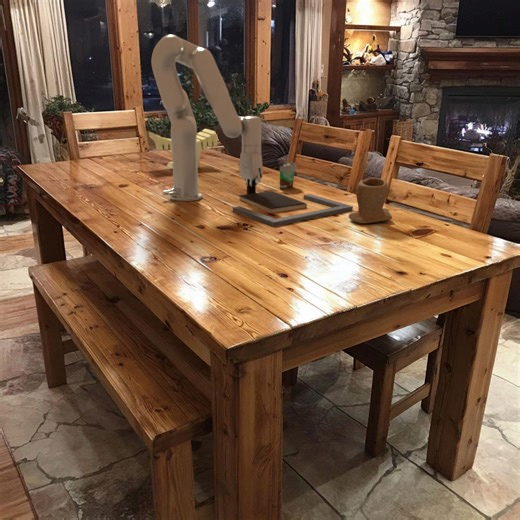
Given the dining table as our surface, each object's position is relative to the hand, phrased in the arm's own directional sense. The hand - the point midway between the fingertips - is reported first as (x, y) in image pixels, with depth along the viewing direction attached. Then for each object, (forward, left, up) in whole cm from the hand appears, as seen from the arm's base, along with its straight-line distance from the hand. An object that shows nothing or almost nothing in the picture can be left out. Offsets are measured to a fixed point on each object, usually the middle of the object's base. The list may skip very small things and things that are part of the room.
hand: (251, 195), depth 224 cm
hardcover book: (0, -13, -1) cm, 13 cm away
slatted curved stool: (+9, +70, -1) cm, 71 cm away
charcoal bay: (0, -26, -1) cm, 26 cm away
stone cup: (+13, -52, -1) cm, 54 cm away
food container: (+24, +6, -1) cm, 25 cm away
